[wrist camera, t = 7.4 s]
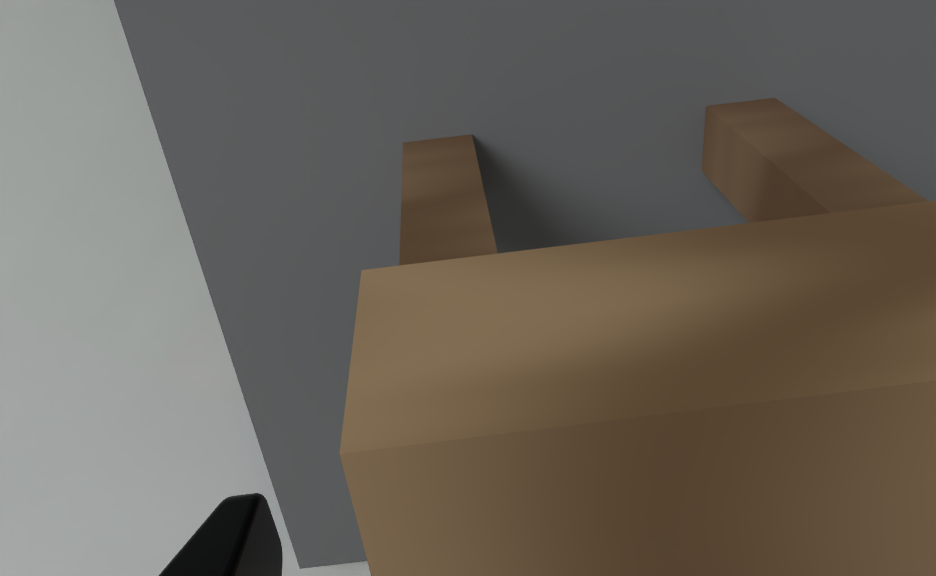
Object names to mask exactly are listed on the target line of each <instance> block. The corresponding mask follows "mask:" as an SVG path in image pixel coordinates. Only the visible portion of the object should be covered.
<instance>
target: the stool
mask: <svg viewBox="0 0 936 576" xmlns="http://www.w3.org/2000/svg"><path fill="white" fill-rule="evenodd" d="M702 172H703V173H704V174H705V175H706V176H707V177H708V178H709V179H710V181H711V182H712V183H713V184H714V185H715V186H716V187H717V188H718V189H719V190H720V192H721V193H722V194H723V195H724V196H725V197H726V198H727V199H728V200H729V201H730V202H731V204H732V205H733V206H734V207H735V208H736V209H737V210H738V211H739V212H740V213H741V214H742V216H743V217H744V218H745V219H746V220H747V221H748V222H749V223H745V224H737V225H729V226H720V227H712V228H704V229H696V230H687V231H679V232H671V233H663V234H655V235H646V236H638V237H630V238H622V239H613V240H605V241H597V242H589V243H581V244H572V245H564V246H556V247H548V248H540V249H531V250H523V251H515V252H507V253H497V248H496V243H495V239H494V234H493V230H492V225H491V220H490V216H489V211H488V206H487V202H486V197H485V193H484V188H483V183H482V179H481V174H480V169H479V165H478V160H477V156H476V151H475V146H474V142H473V137H472V134H470V135H461V136H453V137H445V138H437V139H428V140H420V141H412V142H403V156H402V190H401V225H400V260H399V266H392V267H383V268H375V269H367V270H361V278H360V286H359V294H358V303H357V311H356V319H355V328H354V336H353V345H352V353H351V361H350V370H349V378H348V386H347V395H346V403H345V411H344V420H343V428H342V437H341V445H340V453H339V454H340V458H341V462H342V465H343V469H344V473H345V477H346V481H347V485H348V488H349V492H350V496H351V500H352V504H353V507H354V511H355V515H356V519H357V523H358V527H359V530H360V534H361V538H362V542H363V546H364V550H365V553H366V557H367V561H368V565H369V569H370V572H371V576H936V200H934V201H928V200H926V199H925V198H923V197H922V196H920V195H919V194H917V193H916V192H914V191H913V190H911V189H910V188H908V187H907V186H905V185H904V184H902V183H901V182H899V181H898V180H897V179H895V178H894V177H892V176H891V175H889V174H888V173H886V172H885V171H883V170H882V169H880V168H879V167H877V166H876V165H874V164H873V163H871V162H870V161H868V160H867V159H865V158H864V157H862V156H861V155H859V154H858V153H856V152H855V151H853V150H852V149H850V148H849V147H847V146H846V145H844V144H843V143H841V142H840V141H838V140H837V139H835V138H834V137H832V136H831V135H829V134H828V133H827V132H825V131H824V130H822V129H821V128H819V127H818V126H816V125H815V124H813V123H812V122H810V121H809V120H807V119H806V118H804V117H803V116H801V115H800V114H798V113H797V112H795V111H794V110H792V109H791V108H789V107H788V106H786V105H785V104H783V103H782V102H780V101H779V100H777V99H776V98H768V99H760V100H751V101H743V102H735V103H726V104H718V105H710V106H706V113H705V127H704V142H703V156H702Z"/></svg>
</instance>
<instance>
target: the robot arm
mask: <svg viewBox="0 0 936 576" xmlns="http://www.w3.org/2000/svg"><path fill="white" fill-rule="evenodd" d="M159 576H282V546H281V541H280V538H279V535H278V532H277V529H276V526H275V523H274V520H273V517H272V514H271V511H270V508H269V505H268V503H267V500H266V499H265V497H264V496H263V495H261V494H258V493H254V494H246V495H238V496H230V497H228V498H226V499H225V500H223V501H222V502H221V503H220V504H219V505H218V506H217V508H216V509H215V510H214V511H213V512H212V514H211V515H210V516H209V517H208V518H207V519H206V521H205V522H204V523H203V524H202V525H201V526H200V528H199V529H198V530H197V531H196V532H195V534H194V535H193V536H192V537H191V538H190V539H189V541H188V542H187V543H186V544H185V545H184V546H183V548H182V549H181V550H180V551H179V552H178V554H177V555H176V556H175V557H174V558H173V559H172V561H171V562H170V563H169V564H168V565H167V566H166V568H165V569H164V570H163V571H162V572H161V574H160V575H159Z"/></svg>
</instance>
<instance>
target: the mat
mask: <svg viewBox="0 0 936 576" xmlns="http://www.w3.org/2000/svg"><path fill="white" fill-rule="evenodd" d="M114 2H115V5H116V8H117V11H118V14H119V17H120V20H121V23H122V26H123V29H124V32H125V36H126V39H127V42H128V45H129V48H130V51H131V54H132V57H133V60H134V63H135V66H136V69H137V72H138V75H139V78H140V81H141V84H142V87H143V90H144V94H145V97H146V100H147V103H148V106H149V109H150V112H151V115H152V118H153V121H154V124H155V127H156V130H157V133H158V136H159V139H160V142H161V145H162V149H163V152H164V155H165V158H166V161H167V164H168V167H169V170H170V173H171V176H172V179H173V182H174V185H175V188H176V191H177V194H178V197H179V200H180V203H181V207H182V210H183V213H184V216H185V219H186V222H187V225H188V228H189V231H190V234H191V237H192V240H193V243H194V246H195V249H196V252H197V255H198V258H199V261H200V265H201V268H202V271H203V274H204V277H205V280H206V283H207V286H208V289H209V292H210V295H211V298H212V301H213V304H214V307H215V310H216V313H217V316H218V320H219V323H220V326H221V329H222V332H223V335H224V338H225V341H226V344H227V347H228V350H229V353H230V356H231V359H232V362H233V365H234V368H235V371H236V374H237V378H238V381H239V384H240V387H241V390H242V393H243V396H244V399H245V402H246V405H247V408H248V411H249V414H250V417H251V420H252V423H253V426H254V429H255V432H256V436H257V439H258V442H259V445H260V448H261V451H262V454H263V457H264V460H265V463H266V466H267V469H268V472H269V475H270V478H271V481H272V484H273V487H274V491H275V494H276V497H277V500H278V503H279V506H280V509H281V512H282V515H283V518H284V521H285V524H286V527H287V530H288V533H289V536H290V539H291V542H292V545H293V549H294V552H295V555H296V558H297V561H298V564H299V567H300V569H302V568H310V567H318V566H327V565H335V564H343V563H352V562H360V561H367V557H366V553H365V550H364V546H363V542H362V538H361V534H360V530H359V527H358V523H357V519H356V515H355V511H354V507H353V504H352V500H351V496H350V492H349V488H348V485H347V481H346V477H345V473H344V469H343V465H342V462H341V458H340V454H339V453H340V445H341V437H342V428H343V420H344V411H345V403H346V395H347V386H348V378H349V370H350V361H351V353H352V345H353V336H354V328H355V319H356V311H357V303H358V294H359V286H360V278H361V270H367V269H375V268H383V267H392V266H399V260H400V225H401V190H402V156H403V142H412V141H420V140H428V139H437V138H445V137H453V136H461V135H470V134H472V137H473V142H474V146H475V151H476V156H477V160H478V165H479V169H480V174H481V179H482V183H483V188H484V193H485V197H486V202H487V206H488V211H489V216H490V220H491V225H492V230H493V234H494V239H495V243H496V248H497V253H507V252H515V251H523V250H531V249H540V248H548V247H556V246H564V245H572V244H581V243H589V242H597V241H605V240H613V239H622V238H630V237H638V236H646V235H655V234H663V233H671V232H679V231H687V230H696V229H704V228H712V227H720V226H729V225H737V224H745V223H749V222H748V221H747V220H746V219H745V218H744V217H743V216H742V214H741V213H740V212H739V211H738V210H737V209H736V208H735V207H734V206H733V205H732V204H731V202H730V201H729V200H728V199H727V198H726V197H725V196H724V195H723V194H722V193H721V192H720V190H719V189H718V188H717V187H716V186H715V185H714V184H713V183H712V182H711V181H710V179H709V178H708V177H707V176H706V175H705V174H704V173H703V172H702V156H703V142H704V127H705V113H706V106H710V105H718V104H726V103H735V102H743V101H751V100H760V99H768V98H776V99H777V100H779V101H780V102H782V103H783V104H785V105H786V106H788V107H789V108H791V109H792V110H794V111H795V112H797V113H798V114H800V115H801V116H803V117H804V118H806V119H807V120H809V121H810V122H812V123H813V124H815V125H816V126H818V127H819V128H821V129H822V130H824V131H825V132H827V133H828V134H829V135H831V136H832V137H834V138H835V139H837V140H838V141H840V142H841V143H843V144H844V145H846V146H847V147H849V148H850V149H852V150H853V151H855V152H856V153H858V154H859V155H861V156H862V157H864V158H865V159H867V160H868V161H870V162H871V163H873V164H874V165H876V166H877V167H879V168H880V169H882V170H883V171H885V172H886V173H888V174H889V175H891V176H892V177H894V178H895V179H897V180H898V181H899V182H901V183H902V184H904V185H905V186H907V187H908V188H910V189H911V190H913V191H914V192H916V193H917V194H919V195H920V196H922V197H923V198H925V199H926V200H928V201H934V200H936V0H114Z"/></svg>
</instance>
